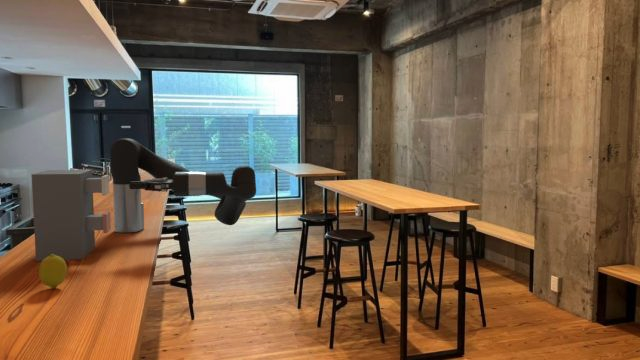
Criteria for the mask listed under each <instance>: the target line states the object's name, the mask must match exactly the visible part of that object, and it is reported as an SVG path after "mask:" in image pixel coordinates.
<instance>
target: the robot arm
mask: <svg viewBox="0 0 640 360" xmlns="http://www.w3.org/2000/svg"><path fill="white" fill-rule="evenodd" d="M109 163H110V164H109V165H110V174H111V177H112V189H113V190H112V196H113V216H114V217H113V219H114V224H113V225H114V232H115V233H125V234H126V233H135V232H140V231H142V230H144V229H145V213H144V212H145V208H144V207H145V206H144V202H142V190H144V191H147V192H148V191H150V192H159V193H161V192H162V193H166V192H167V193H168V191H169V190H171V191H173V195H174V197H176V198H177V197H201V196H210V197H214V198H217V199H219V200H220V201H219V202H218V204H217V206H216V208H215V210H214V217H215V219H216V220H217V221H218V222H219V223H221V224H224V225H225V226H234V225H235V224H236V223H238V221H239V219H240V217H241V215H242V213H243V211H244V210H245V208H246V203H247V202H246V201H247V200H251V199H253V198H254V197H255V196H256V194H257V180H256V172H255V170H254V169H253V167H251V166H249V165H239V166H238V167H236V168H235V169H234V170H233V171H232V174H231V181H230V185H229V184H228V183H227V180H226V176H225V174H224V173H223V172H220V171H214V172H213V171H211V172H210V171H209V172H204V171H190V170H189V169H187V168H185V167H183V166H181V165H179V164H177V163H176V162H173V161H171V160H169V159H167V158H164V157H162V156H160V155H157V154H156V153H155V152H153V151H151V150H150V149H148V148H147V147H145V146H144V145H142V144H141V143H139V142H138V141H137V140H135V139H134V138H133V139H132V138H128V137H127V138H119V139H116V140H115V141H113V143H112V144H111V146H110V149H109ZM139 169H140V170H142V171H144V172H146V173H147V174H149V175H151V176H152V177H153V178H152V179H145V180H141V178H142V177H141V174H140V170H139Z"/></svg>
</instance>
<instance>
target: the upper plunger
mask: <svg viewBox="0 0 640 360" xmlns="http://www.w3.org/2000/svg"><path fill="white" fill-rule="evenodd" d="M85 193H93V194H101V196H103V197H104V196H105V197H106V196H108V195H109V194H110V175H109V174H104V175H101V177H92V178H85Z"/></svg>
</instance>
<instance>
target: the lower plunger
mask: <svg viewBox="0 0 640 360" xmlns="http://www.w3.org/2000/svg"><path fill="white" fill-rule="evenodd" d="M86 224H87V231H91V230H94V231H102V233H103V234H107V233H109V232H110V230H112V228H111V210H107V211H105V212H104V213H102V214H99V213H98V214H96V213H95V214H94V215H87V216H86Z"/></svg>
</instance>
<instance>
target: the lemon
mask: <svg viewBox="0 0 640 360" xmlns="http://www.w3.org/2000/svg"><path fill="white" fill-rule="evenodd" d="M40 262H41V263H40V265H39V268H38V270H39V271H38V275H39V279H40V282H41V283H43V284H44V285H45V286H47V287H50V288H51V289H56V288H57V287H58V286H59V285H61V284H63V283H64V282H65V280H66V278H67V275H68V266H67V263H66V261H65V260H64V259H62V258H61V257H59V256H56V255H54V254H51V255H50V256H48V257H46V258H45V259H44V260H43V261H40Z"/></svg>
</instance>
